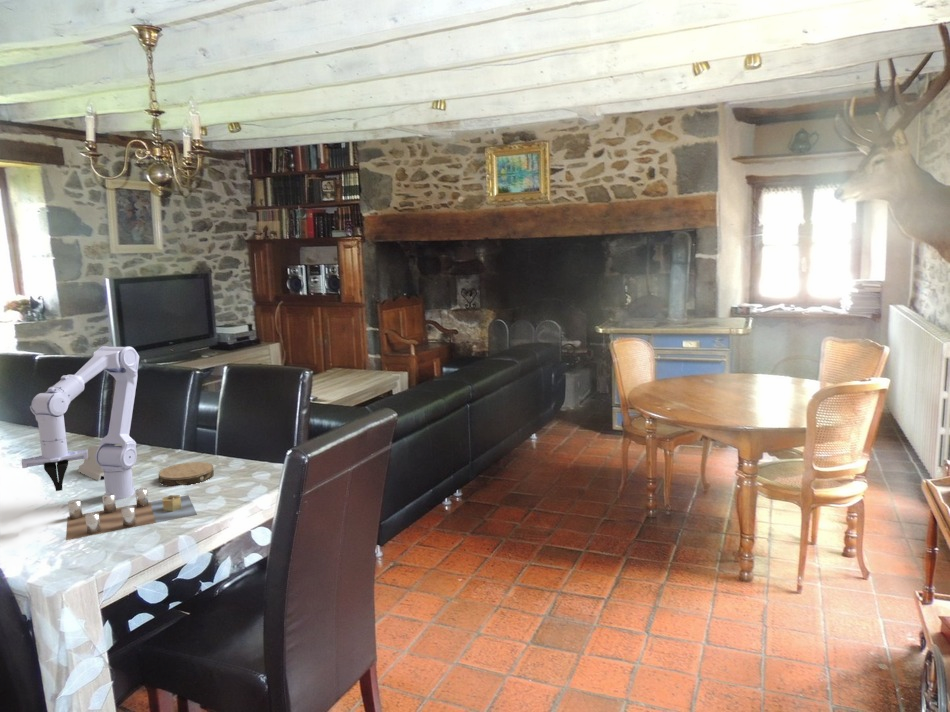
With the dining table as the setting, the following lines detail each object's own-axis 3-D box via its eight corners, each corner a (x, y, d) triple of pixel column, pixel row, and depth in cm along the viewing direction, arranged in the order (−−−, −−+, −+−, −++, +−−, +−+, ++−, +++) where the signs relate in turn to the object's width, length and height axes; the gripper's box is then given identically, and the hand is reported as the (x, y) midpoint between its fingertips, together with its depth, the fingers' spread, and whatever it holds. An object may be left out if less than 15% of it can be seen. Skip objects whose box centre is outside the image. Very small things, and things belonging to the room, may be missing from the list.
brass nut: (162, 507, 187) (161, 496, 186) (179, 504, 189) (178, 493, 189) (164, 513, 183) (163, 502, 182) (181, 509, 185) (180, 499, 184)
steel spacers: (69, 516, 181) (67, 500, 181) (148, 502, 191) (146, 487, 190) (68, 538, 167) (66, 521, 166) (153, 522, 176) (152, 505, 175)
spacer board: (68, 519, 182) (67, 516, 182) (188, 497, 196) (188, 495, 196) (66, 543, 166) (66, 540, 166) (197, 517, 181) (197, 514, 181)
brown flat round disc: (148, 483, 211) (147, 473, 211) (190, 468, 225) (189, 459, 225) (183, 490, 204) (182, 480, 204) (224, 474, 218) (224, 465, 217)
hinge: (77, 471, 224) (85, 441, 226) (92, 472, 228) (99, 443, 229) (98, 480, 214) (106, 449, 215) (114, 482, 217) (121, 451, 219)
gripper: (18, 446, 168) (25, 499, 170) (85, 438, 175) (91, 488, 177) (20, 440, 174) (27, 491, 176) (85, 432, 181) (91, 481, 183)
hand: (59, 489), depth 177 cm, fingers closed
